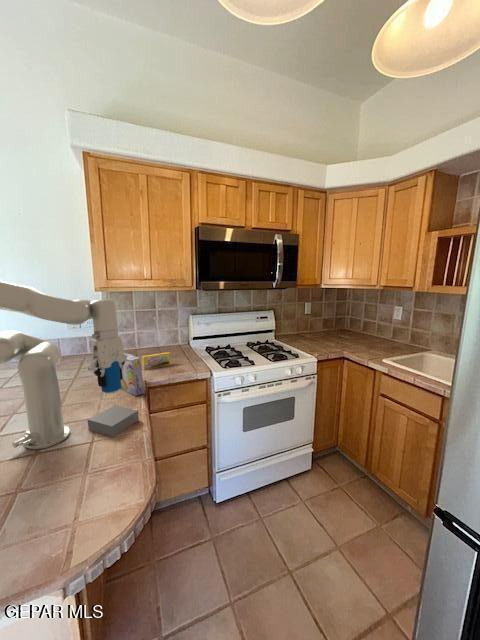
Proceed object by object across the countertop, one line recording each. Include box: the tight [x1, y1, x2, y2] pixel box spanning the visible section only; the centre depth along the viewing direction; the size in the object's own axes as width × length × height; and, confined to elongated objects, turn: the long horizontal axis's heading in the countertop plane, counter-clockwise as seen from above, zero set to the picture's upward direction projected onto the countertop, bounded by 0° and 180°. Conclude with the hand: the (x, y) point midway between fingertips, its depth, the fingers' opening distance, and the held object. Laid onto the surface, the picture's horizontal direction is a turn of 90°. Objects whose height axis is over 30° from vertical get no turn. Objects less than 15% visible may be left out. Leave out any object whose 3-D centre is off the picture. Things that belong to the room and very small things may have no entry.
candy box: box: [142, 351, 171, 371], centre depth 165 cm, size 16×2×8 cm, turn 123°
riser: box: [87, 404, 139, 438], centre depth 100 cm, size 12×12×4 cm
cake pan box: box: [120, 352, 145, 397], centre depth 131 cm, size 19×5×18 cm, turn 50°
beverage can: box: [100, 361, 122, 395], centre depth 98 cm, size 6×6×12 cm
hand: (110, 382), depth 98 cm, fingers closed on beverage can, 6 cm apart
